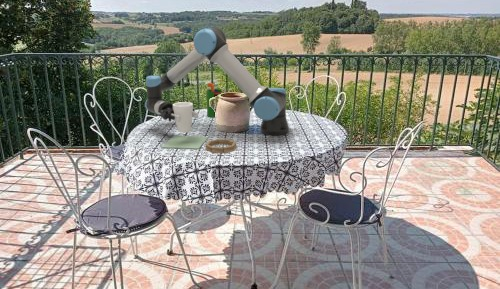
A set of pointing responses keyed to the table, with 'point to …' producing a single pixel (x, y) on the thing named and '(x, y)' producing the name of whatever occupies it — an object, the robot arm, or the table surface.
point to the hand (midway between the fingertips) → (188, 117)
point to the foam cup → (183, 116)
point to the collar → (220, 149)
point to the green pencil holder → (210, 94)
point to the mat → (185, 142)
